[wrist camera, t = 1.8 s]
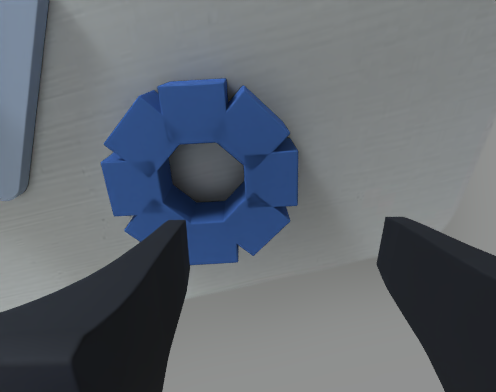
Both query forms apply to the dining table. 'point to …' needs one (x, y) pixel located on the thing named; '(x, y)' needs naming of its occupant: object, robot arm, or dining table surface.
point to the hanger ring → (193, 132)
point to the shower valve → (19, 89)
